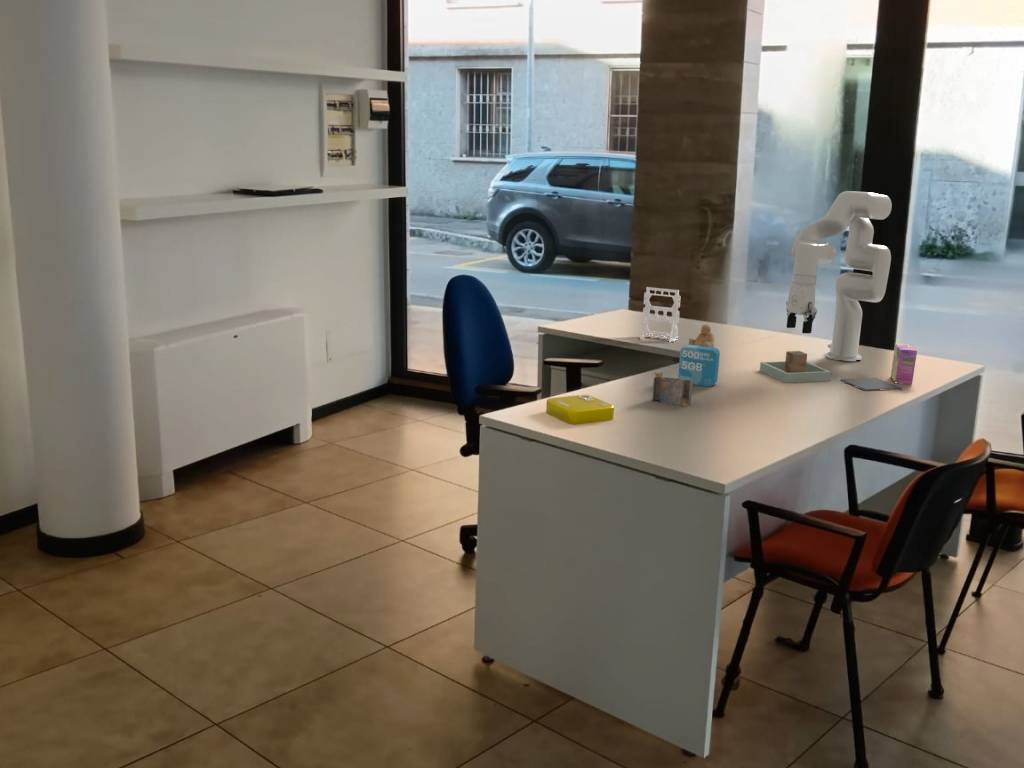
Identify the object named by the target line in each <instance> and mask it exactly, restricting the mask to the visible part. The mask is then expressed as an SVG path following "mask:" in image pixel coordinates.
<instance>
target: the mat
mask: <svg viewBox="0 0 1024 768" xmlns="http://www.w3.org/2000/svg"><path fill="white" fill-rule="evenodd" d="M839 380H841V382H842V381H844V382H843V383H845V382H846V383H845V384H847V383H849V384H848V385H850V384H852V385H854V386H857V387H859V388H861V389H860V390H862V389H864V390H876V391H881V390H880V389H898V390H903V388H902V387H901V386H898V385H897V384H896V385H895V384H894V383H892V382H888V381H886V380H883V379H880V378H879V377H862V378H861V377H859V378H840V379H839ZM852 385H851V386H852ZM854 386H853V387H854ZM857 387H856V388H857ZM859 388H858V389H859ZM864 390H863V391H864Z"/></svg>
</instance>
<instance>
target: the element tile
mask: <svg viewBox="0 0 1024 768" xmlns="http://www.w3.org/2000/svg"><path fill="white" fill-rule="evenodd" d="M545 407H546V409H545V411H546V412H545V413H546V414H547V415H550V416H552V417H554V418H555V419H558V420H559V421H562V422H564V423H566V424H567V425H575V426H577V425H584V424H594V423H599V422H607V421H613V420H614V410H615V406H614V405H613V404H611V403H609V402H606V401H604V400H601V399H599V398H597V397H594V396H592V395H590V394H579V395H567V396H559V397H550V398H547V399H546V406H545Z"/></svg>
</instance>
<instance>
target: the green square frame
mask: <svg viewBox="0 0 1024 768" xmlns="http://www.w3.org/2000/svg"><path fill="white" fill-rule="evenodd" d="M785 361H786V360H785ZM785 361H783V360H781V361H760V364H759V371H761V372H763V373H764V374H767V375H769V376H771V377H773V378H775V379H778V380H780V381H782V382H784V383H802V382H808V383H809V382H827V381H828V382H829V381H830V382H831V378H832V371H830V370H828V369H825V368H823V367H821V366H817V365H815V364H814V363H811V362H808V361H807V362H806V371H805V372H796V373H787V372H785V371H784V370H785Z"/></svg>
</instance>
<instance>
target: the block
mask: <svg viewBox="0 0 1024 768" xmlns="http://www.w3.org/2000/svg"><path fill="white" fill-rule="evenodd" d="M807 360H808V354H807V353H806V352H803V351H800V350H789V351H788V350H787V351H786V352H785V370H783V371H785V372H787V373H796V372H806V362H808V361H807Z"/></svg>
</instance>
